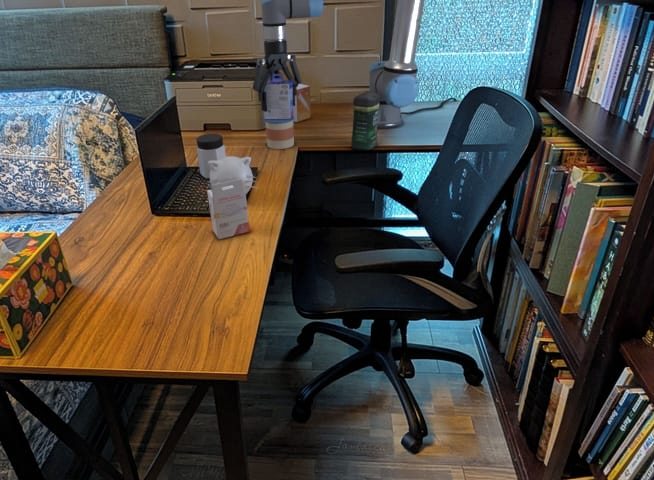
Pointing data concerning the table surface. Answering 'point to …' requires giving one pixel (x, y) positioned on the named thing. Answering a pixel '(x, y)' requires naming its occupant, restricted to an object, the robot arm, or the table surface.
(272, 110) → the ink cartridge box
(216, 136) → the jar
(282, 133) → the yogurt tub
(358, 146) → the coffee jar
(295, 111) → the small box
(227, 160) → the cat head
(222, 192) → the ink cartridge box
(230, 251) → the table surface
